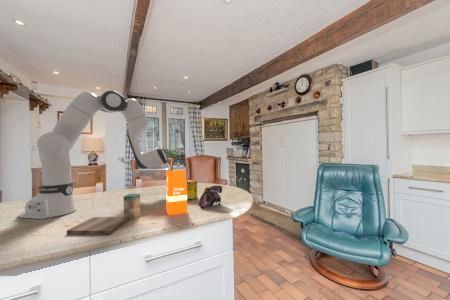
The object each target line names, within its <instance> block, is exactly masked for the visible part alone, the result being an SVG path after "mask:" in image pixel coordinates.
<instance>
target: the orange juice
mask: <svg viewBox="0 0 450 300" xmlns="http://www.w3.org/2000/svg"><path fill="white" fill-rule="evenodd" d="M187 181H188V180H187V176H186V170H185V169H178V170H176V169H175V170H171V171H167V176H166V177H165V192H166V193H165V196H166V197H165V198H166V199H165V201H166V207H165V208H166V213H167V214H168V216H172V215H173V216H174V215H178V214H186V213H188V200H187Z"/></svg>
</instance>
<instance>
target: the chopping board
mask: <svg viewBox="0 0 450 300" xmlns="http://www.w3.org/2000/svg"><path fill="white" fill-rule="evenodd" d="M128 222H130V219H129V217H124V216H116V217H115V216H92V217H90V218H88V219H87V220H85V221H83V222H81V223H79V224H77V225H75V226H73V227H71V228H69V229H67V230H66V235H67V236H68V235H69V236H70V235H72V236H73V235H75V236H76V235H77V236H78V235H80V236H83V235H84V236H85V235H87V236H88V235H89V236H98V235H99V236H110V235H111V234H114V232H116V231H117V230H119V229H120V228H122V227H123V226H124V225H126V224H127V223H128Z"/></svg>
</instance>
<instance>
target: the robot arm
mask: <svg viewBox="0 0 450 300" xmlns="http://www.w3.org/2000/svg"><path fill="white" fill-rule="evenodd" d="M99 111H101V112H104V113H107V114H108V113H109V114H111V113H114V114H115V113H117V112H119V113H121V114H122V116H123V117H124V119H125V120H126V123H127V125H128V130H127V132H126V135H127V138H128V142H129V146H130V149H131V151H132V153H133V158H134V161H135V165H136V166H137V168H138V169H137V168H136V169H133V170H132V177H133V178H134V177H136V178H137V177H150V178H151V179H153V180H157V179H162V178H166V176H167V171H172V169H171V165H170V163H168V162H169V161H168V155H167V153H166V152H165V150H164V149H163V148H161V147H155V148H153V149H150V150H148V151H145V152H142V148H141V147H140V143H139V137H140V136H141V135H142V134H143V133H144V132H145V131H146V130H147V128H148V127H149V120H148V117H147V115H146V113H145V111H144V109H143V108H142V106H141V104H140V103H139V101H137V99H135V98H126V97H125V96H123V95H122V94H121V93H119V92H118V91H116V90H106V91H104V92H103V93H102V94H100V95H96V94H95V93H93V92H90V91H87V90H86V91H81V93H79V94H77V96H76V97H75V98H73V100H72V101H71V102H70V103H69V105H68V106H66V108H65V109H64V111H63V112H62V113H61V115H60V116H59V117H58V121H57V122H56V124H55V126H54V128H52V131H48V132H45V133H43V134H42V135H41V136H39V138H38V139H37V141H36V147H37V150H38V157H39V161H40V164H41V165H40V166H41V175H42V178H41V179H42V180H41V181H42V185H41V186H40V185H39V186H37V187H36V190H37V191H38V190H39V191H38V193H37V194H36V195H35V196H34V197H32V198H31V199H30V200H28V201H27V202H26V203H25V206H24V211H23V212H20V213H18V214H17V218H22V219H24V218H25V219H34V220H35V219H36V220H44V219H48V218H52V217H53V218H54V217H59V216H63V215H67V214H68V215H69V214H71V213H74V212H76V211H77V206H76V204H75V200H74V195H73V192H74V185H73V184H74V183H73V181H72V178H73V177H72V176H73V175H72V165H71V159H70V151H71V150H72V149H73V147H74V145H75V144H76V142H77V141H78V139H79V138H80V136H81V134H82V133H83V131H84V129H86V127H87V126H88V125H89V123H90V122H91V120H92V119H93V117H94V116H95V114H96V113H97V112H99Z"/></svg>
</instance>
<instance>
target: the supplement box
mask: <svg viewBox="0 0 450 300" xmlns="http://www.w3.org/2000/svg"><path fill="white" fill-rule="evenodd" d="M186 181H187V201H196V199H197V198H198V180H197V179H188V180H186Z"/></svg>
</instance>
